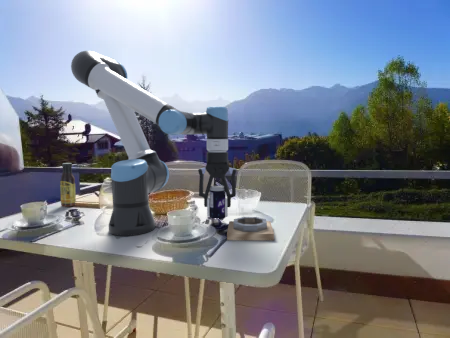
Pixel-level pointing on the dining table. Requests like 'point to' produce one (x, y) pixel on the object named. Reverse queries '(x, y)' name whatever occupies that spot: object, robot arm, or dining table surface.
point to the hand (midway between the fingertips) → (217, 215)
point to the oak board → (250, 233)
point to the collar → (250, 224)
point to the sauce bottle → (67, 186)
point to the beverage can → (217, 202)
